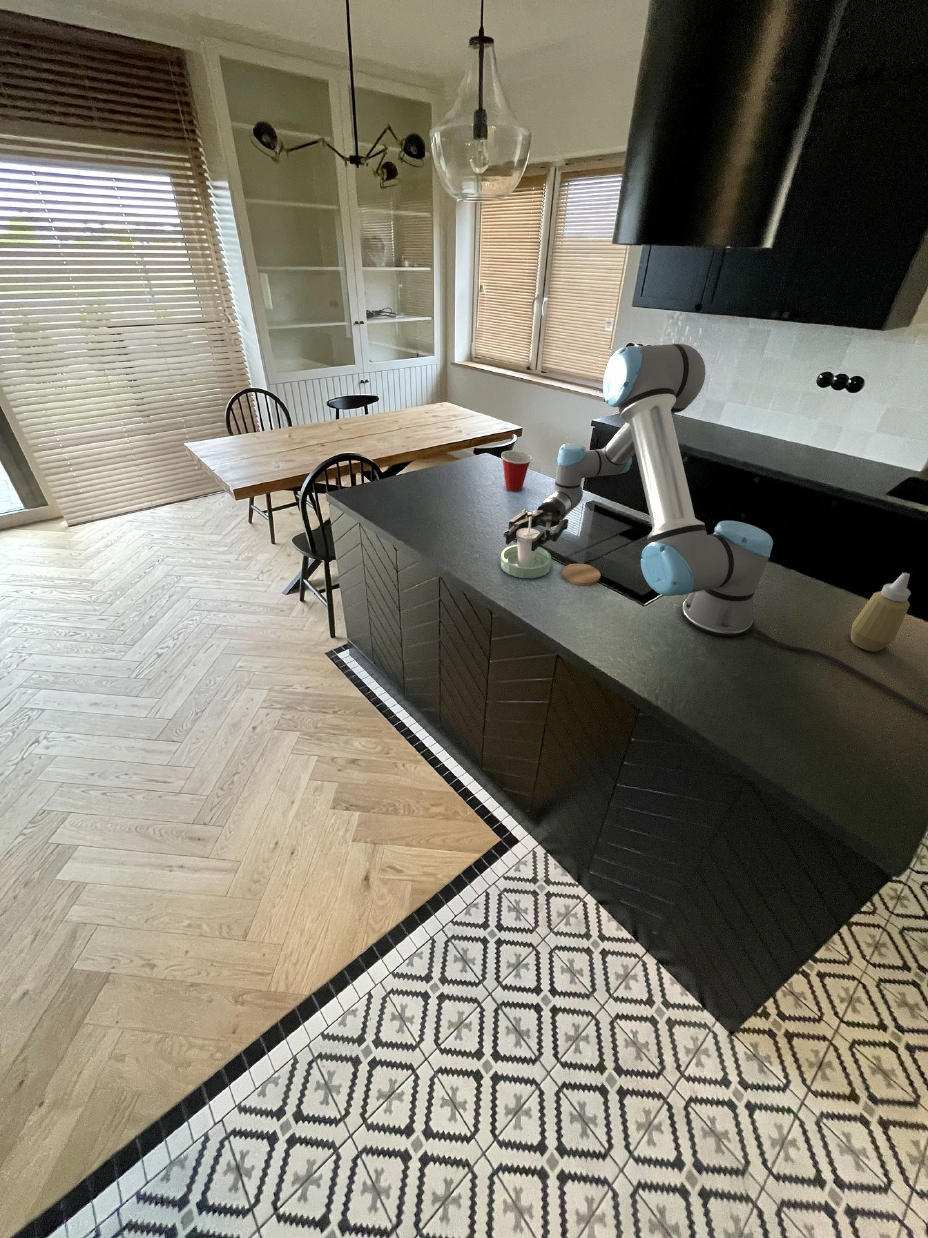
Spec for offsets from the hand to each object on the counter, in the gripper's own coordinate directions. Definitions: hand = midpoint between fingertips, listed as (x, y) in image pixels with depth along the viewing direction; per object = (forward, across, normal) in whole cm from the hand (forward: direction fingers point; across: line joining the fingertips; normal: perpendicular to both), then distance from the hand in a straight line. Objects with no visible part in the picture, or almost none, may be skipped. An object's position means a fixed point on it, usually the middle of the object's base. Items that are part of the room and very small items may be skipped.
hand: (520, 542), depth 135 cm
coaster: (-8, -15, -9) cm, 19 cm away
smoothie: (-5, 0, -9) cm, 11 cm away
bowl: (-5, 0, -9) cm, 11 cm away
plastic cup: (-54, +26, -10) cm, 60 cm away
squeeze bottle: (-12, -79, -10) cm, 81 cm away
